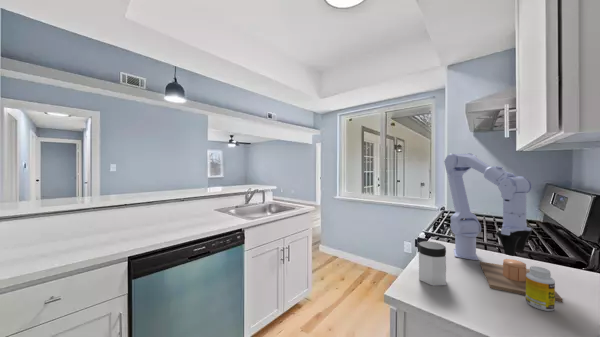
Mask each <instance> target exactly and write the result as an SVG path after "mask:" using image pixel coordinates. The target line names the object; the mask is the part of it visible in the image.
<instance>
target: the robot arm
mask: <svg viewBox="0 0 600 337" xmlns="http://www.w3.org/2000/svg"><path fill="white" fill-rule="evenodd" d="M443 162H444V165H445V170H446V175H447V179H448V185H449V188H450V194H451V198H452V203H453V208H454V213H453V214H452V215H451V216H450V223H449V225H450V226H449V227H450V229H451V231H452V233H453V234H454V235H455V238H454V239H455V240H454V242H455V243H454V244H455V245H454V247H455V248H453V254H454V257H456V258H461V259H467V260H472V261H473V260H474V261H479V257H478V255H477V237H478V234H480V233H481V232H482V224H481V223H480V221H479V219H478V217H477V215H476V214H474V213H473V212H471V209H470V204H469V201H468V197H467V196H468V195H467V191H466V187H465V182H464V180H463V179H464V178H463V175H464V174H466V173H467V172H468V171H470V170H471V169H473V170H475V171H477V172H479V173H481V174H483V177H484V178H485V180H487V181H488V182H490V183H492V184H493V185H494V186H496V187H498V190H499V192H500V193H501V196H500V197H501V198H502V208H503V209H502V225H501V226H502V227H501V228H500V229H501V230H500V231H497V232H496V236H497V237H498V238H499V240H500V242H501V245H502V247H503V252H504V254H505V255H506V256H511V257H514V256H515V254H516V251H517V252H518V251H519V252H524V251H525V248H526V246H527V245H526V244H527V241H528V239H529V237H530V236H531V235H532V234H533V232H532V227H528V225H527V224H528V223H527V194H528V193H530V192H531V190H532V183H531V181H530V180H529V179H528V178H527V177H526V176H522V175H521V176H516V175H515V173H513V172H509V171H507V170H505V169H503V167H502V166H500V165H494V166H490V165H489V164H487V163H486V162H484V161H483V160H481V159H479V158H478V157H477V155H475V154H473V153H470V152H469V153H448V154H447V155H446V157H445V159H444V161H443Z"/></svg>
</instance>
